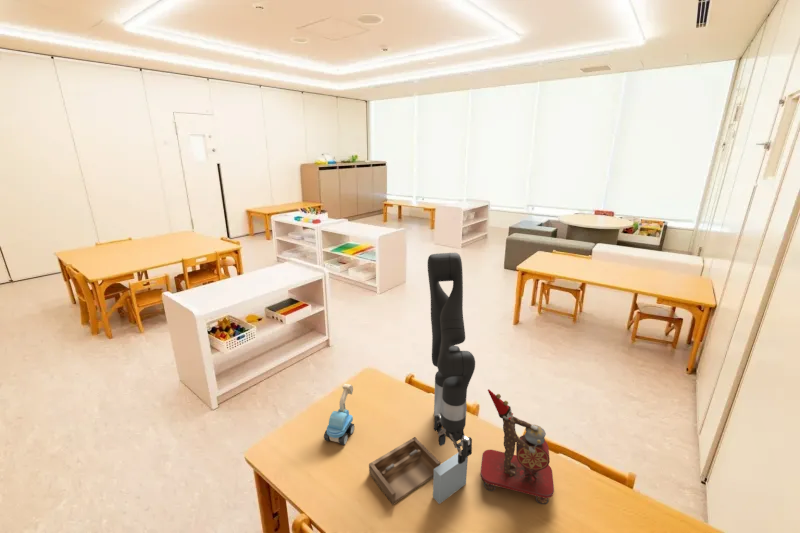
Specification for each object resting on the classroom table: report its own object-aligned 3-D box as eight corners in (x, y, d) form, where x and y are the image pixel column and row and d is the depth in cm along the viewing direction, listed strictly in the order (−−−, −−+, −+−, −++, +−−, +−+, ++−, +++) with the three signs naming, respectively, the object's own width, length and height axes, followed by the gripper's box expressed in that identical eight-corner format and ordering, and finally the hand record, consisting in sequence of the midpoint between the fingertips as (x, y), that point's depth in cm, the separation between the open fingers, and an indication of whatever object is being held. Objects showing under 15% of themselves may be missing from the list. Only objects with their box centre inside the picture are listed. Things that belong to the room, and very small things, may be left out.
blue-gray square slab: (459, 477, 123) (461, 450, 119) (465, 484, 120) (467, 456, 116) (432, 497, 116) (433, 469, 112) (439, 504, 114) (440, 475, 110)
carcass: (414, 446, 135) (414, 435, 134) (439, 472, 125) (440, 461, 123) (369, 473, 124) (368, 462, 123) (392, 505, 114) (392, 493, 112)
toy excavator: (362, 418, 149) (360, 384, 143) (343, 449, 134) (340, 412, 129) (343, 413, 152) (341, 379, 146) (323, 443, 137) (319, 407, 131)
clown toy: (552, 509, 112) (569, 419, 100) (478, 490, 118) (486, 403, 107) (549, 474, 124) (564, 389, 112) (482, 458, 130) (489, 376, 119)
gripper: (480, 419, 104) (476, 462, 109) (446, 393, 115) (444, 433, 120) (461, 430, 100) (458, 475, 105) (428, 402, 111) (427, 444, 116)
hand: (451, 453), depth 113 cm, fingers open, 8 cm apart
